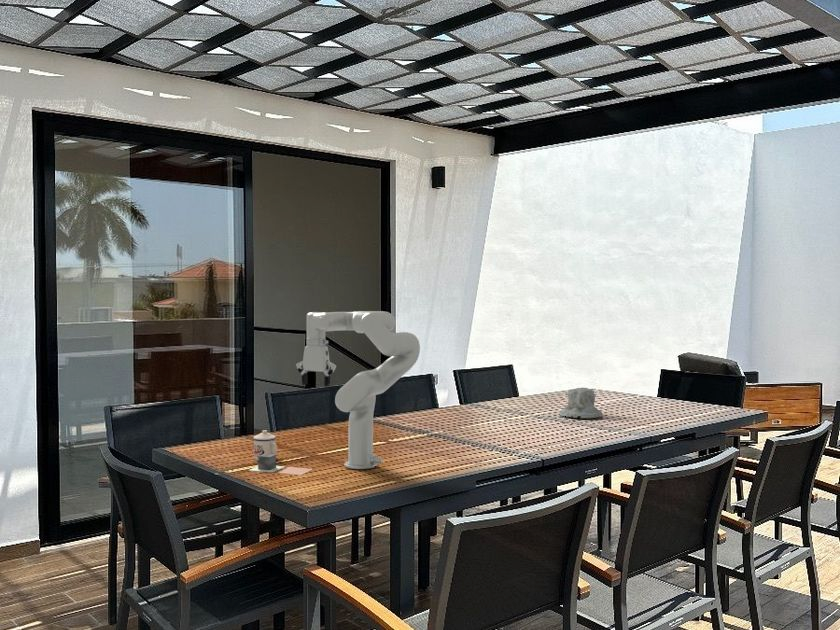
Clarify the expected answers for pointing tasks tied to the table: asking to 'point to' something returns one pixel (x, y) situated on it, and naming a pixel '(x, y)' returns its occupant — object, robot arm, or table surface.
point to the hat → (581, 404)
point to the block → (267, 461)
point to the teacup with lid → (264, 444)
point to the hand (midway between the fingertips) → (315, 385)
